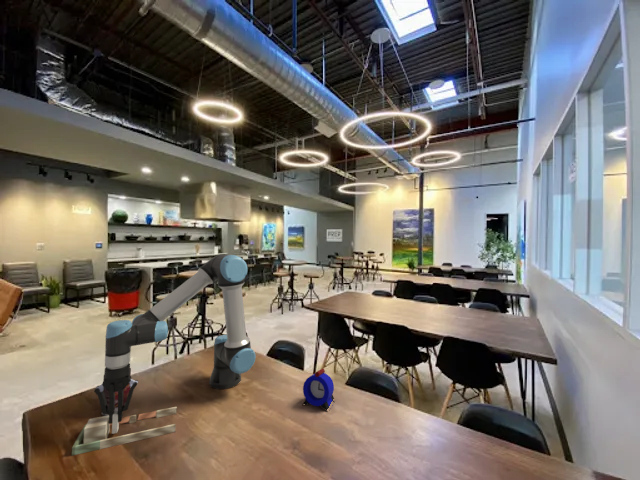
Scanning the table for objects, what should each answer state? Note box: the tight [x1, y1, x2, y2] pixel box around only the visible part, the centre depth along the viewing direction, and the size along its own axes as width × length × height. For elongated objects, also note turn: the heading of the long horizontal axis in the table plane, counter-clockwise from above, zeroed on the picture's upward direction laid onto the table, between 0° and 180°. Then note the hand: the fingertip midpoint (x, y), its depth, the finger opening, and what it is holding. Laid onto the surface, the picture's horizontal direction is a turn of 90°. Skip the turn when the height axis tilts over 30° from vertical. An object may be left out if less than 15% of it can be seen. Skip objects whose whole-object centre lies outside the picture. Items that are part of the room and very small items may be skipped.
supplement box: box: [101, 367, 132, 416], centre depth 117 cm, size 9×5×16 cm, turn 163°
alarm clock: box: [302, 368, 335, 411], centre depth 127 cm, size 12×12×15 cm
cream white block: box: [83, 415, 111, 444], centre depth 100 cm, size 6×6×6 cm
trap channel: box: [71, 406, 178, 456], centre depth 106 cm, size 30×17×2 cm, turn 115°
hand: (115, 431), depth 102 cm, fingers closed
